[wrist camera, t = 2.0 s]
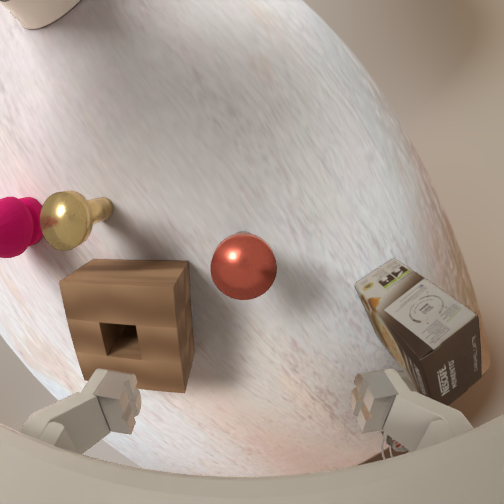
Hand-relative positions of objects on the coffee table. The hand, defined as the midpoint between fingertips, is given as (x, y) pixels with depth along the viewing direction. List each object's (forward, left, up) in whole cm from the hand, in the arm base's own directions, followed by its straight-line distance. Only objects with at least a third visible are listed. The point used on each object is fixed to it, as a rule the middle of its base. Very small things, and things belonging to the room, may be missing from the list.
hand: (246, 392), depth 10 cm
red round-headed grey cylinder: (0, 0, -23) cm, 23 cm away
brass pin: (-4, -16, -23) cm, 29 cm away
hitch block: (+8, -12, -23) cm, 27 cm away
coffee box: (+7, +18, -24) cm, 30 cm away
